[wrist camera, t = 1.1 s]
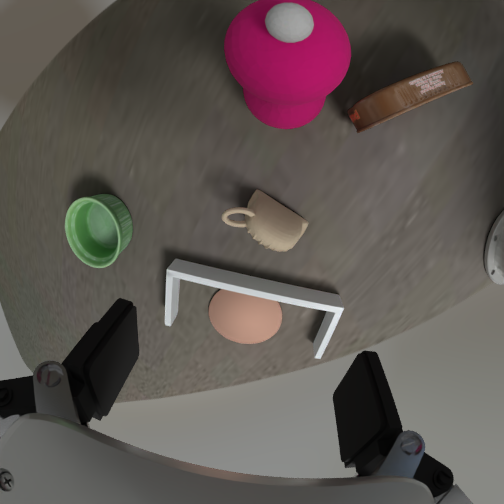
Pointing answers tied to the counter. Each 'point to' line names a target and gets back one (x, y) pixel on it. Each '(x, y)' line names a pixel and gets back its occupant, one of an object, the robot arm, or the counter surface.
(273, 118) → the pepper mill
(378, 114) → the tin
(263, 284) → the white display riser
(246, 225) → the beige cup
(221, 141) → the counter surface
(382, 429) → the robot arm
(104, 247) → the ramekin
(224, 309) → the mat
